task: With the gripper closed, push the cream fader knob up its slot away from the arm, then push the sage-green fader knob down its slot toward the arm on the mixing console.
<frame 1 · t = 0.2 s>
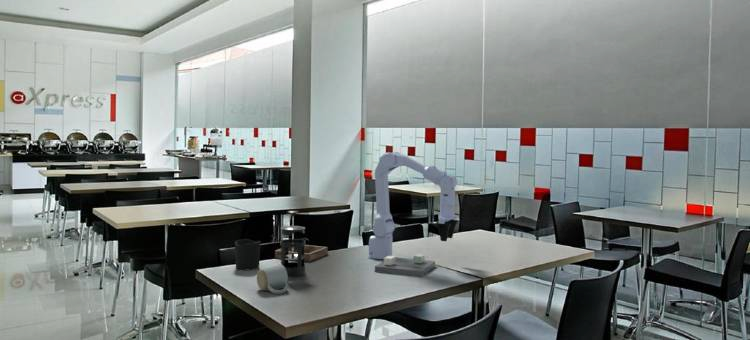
hand: (446, 239, 220), 10 cm above the table, fingers open, 7 cm apart
ceramic mug: (274, 290, 181), on the table
sage fader: (419, 258, 214), point 4 cm above the table, slide at 10.0 cm
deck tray: (301, 255, 233), on the table
cream fader: (389, 260, 210), point 4 cm above the table, slide at 1.0 cm
pen holder: (247, 268, 211), on the table
french press: (292, 274, 202), on the table
console: (405, 268, 212), on the table
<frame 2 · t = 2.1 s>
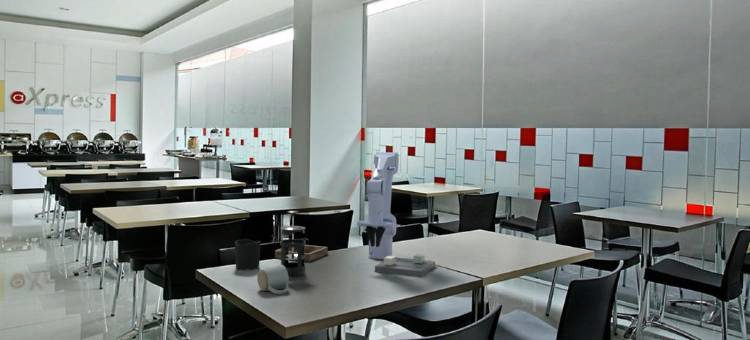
hand: (375, 246, 212), 8 cm above the table, fingers closed
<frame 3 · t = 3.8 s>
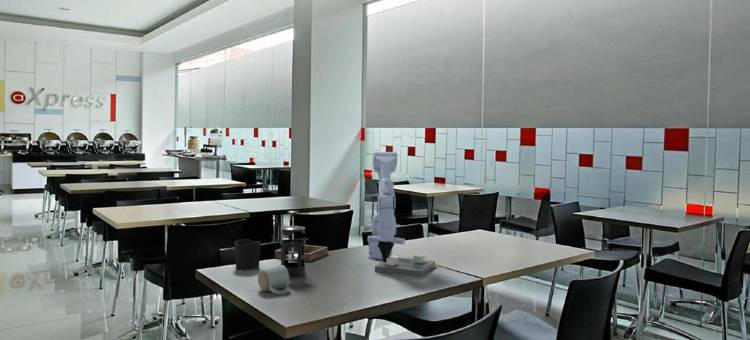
hand: (385, 261, 211), 3 cm above the table, fingers closed
cream fader: (392, 260, 210), point 4 cm above the table, slide at 2.1 cm, touching gripper
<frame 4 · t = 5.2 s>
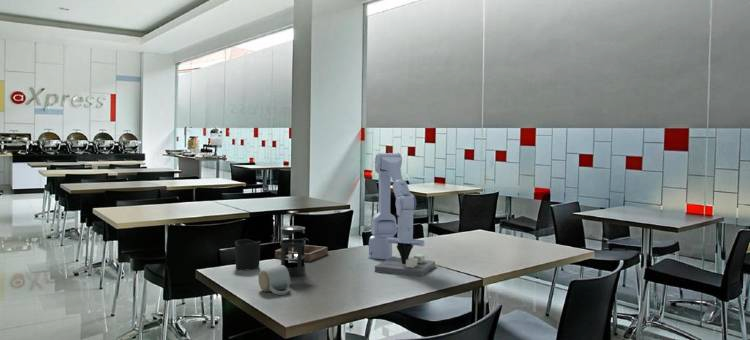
hand: (404, 263, 208), 3 cm above the table, fingers closed
cream fader: (411, 262, 207), point 4 cm above the table, slide at 9.7 cm, touching gripper
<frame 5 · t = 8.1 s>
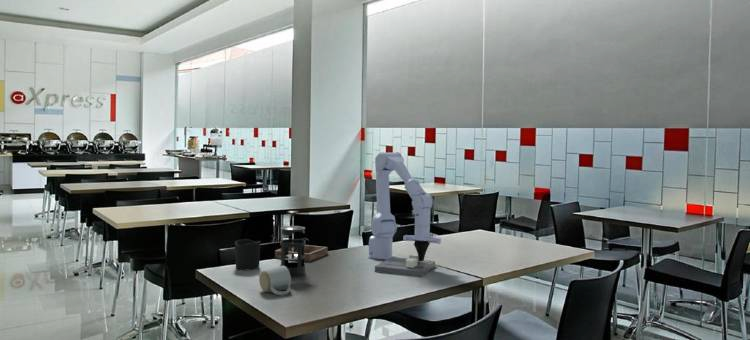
hand: (421, 260, 214), 3 cm above the table, fingers closed
sage fader: (414, 258, 215), point 4 cm above the table, slide at 8.3 cm, touching gripper
cream fader: (411, 262, 207), point 4 cm above the table, slide at 9.7 cm
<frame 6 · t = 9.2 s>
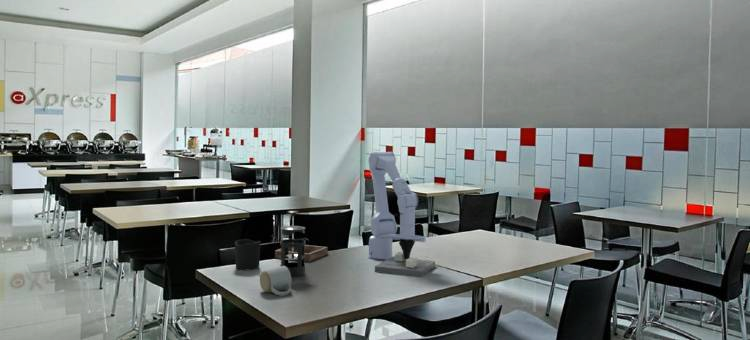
hand: (406, 259, 216), 3 cm above the table, fingers closed
sage fader: (400, 256, 217), point 4 cm above the table, slide at 2.3 cm, touching gripper
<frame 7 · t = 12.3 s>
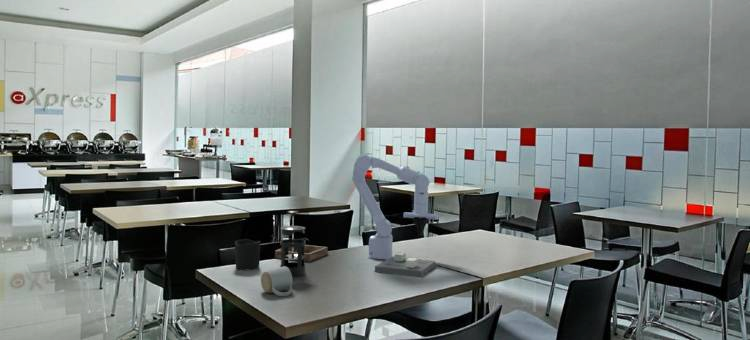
hand: (420, 235, 231), 9 cm above the table, fingers closed
sage fader: (400, 256, 217), point 4 cm above the table, slide at 2.3 cm
at the end: cream fader slide at 9.7 cm; sage fader slide at 2.3 cm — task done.
